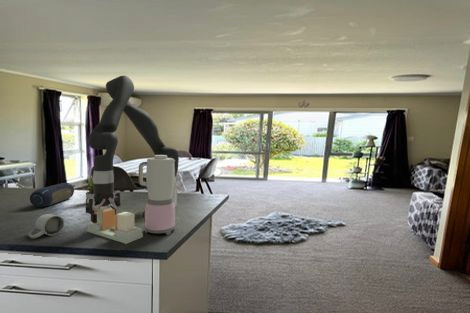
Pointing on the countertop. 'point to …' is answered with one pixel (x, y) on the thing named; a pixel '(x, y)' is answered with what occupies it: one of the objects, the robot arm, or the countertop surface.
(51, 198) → the portable speaker
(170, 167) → the blender
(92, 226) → the rail
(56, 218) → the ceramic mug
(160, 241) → the countertop surface
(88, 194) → the house plant
